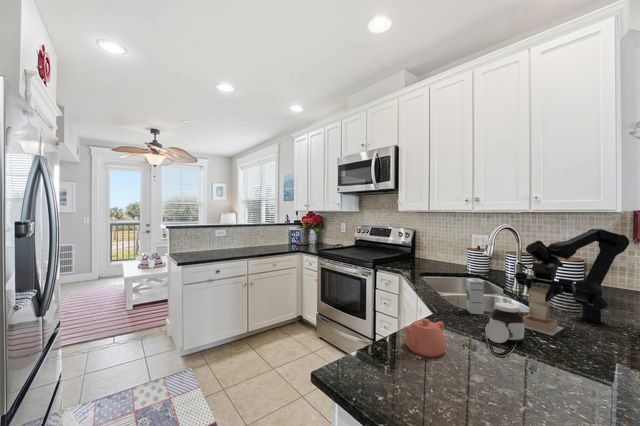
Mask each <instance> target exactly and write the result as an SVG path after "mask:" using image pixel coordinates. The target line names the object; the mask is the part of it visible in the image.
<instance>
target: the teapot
mask: <svg viewBox="0 0 640 426" xmlns="http://www.w3.org/2000/svg"><path fill="white" fill-rule="evenodd" d="M444 327H445V324H444V322H443V321H440V320H439V321H437V322H432V321H430V319H428V318H422V319H419V320H415V321H412V323H411V324H410V325H409V326H403V328H404V329H405V339H404V340H405V344H406V346H407V347H408V349H409V350H410V351H411V352H413V353H414V354H416V355H419V356H422V357H425V358H427V357H428V358H437V357H440V356H442V355H443V354H444V353H446V351H447V349H448V348H447V341H446V337H445V335H444V333H443V330H444Z"/></svg>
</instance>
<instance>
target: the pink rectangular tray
mask: <svg viewBox="0 0 640 426" xmlns="http://www.w3.org/2000/svg"><path fill="white" fill-rule="evenodd" d="M522 318H523V320H524V329H527V330H532V331H536V332H537V333H538V332H539V333H542V334H545V335H548V336H552V337H553V336H554V335H556V334H558V333H560V331H562V330H564V327H563V326H559V325H558V320H556V319H552V318H548V319H546V320H542V319H538V318H534V317H530V316H529V314H526V315H524V316H522Z"/></svg>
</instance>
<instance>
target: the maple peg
mask: <svg viewBox="0 0 640 426" xmlns="http://www.w3.org/2000/svg"><path fill="white" fill-rule="evenodd" d="M549 289H550V288H544V287H537V286H534V287H532V288H529V294H528V315H529V316H530V317H534V318H538V319H542V320H546V319H550V300H549V301H548V302H546V301H545V299H546V296H547V293H548V291H549Z"/></svg>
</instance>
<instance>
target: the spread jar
mask: <svg viewBox="0 0 640 426" xmlns="http://www.w3.org/2000/svg"><path fill="white" fill-rule="evenodd" d="M522 317H523V316H522V315H521V313H520V312H519V306H518V305H517V304H516V305H515V304H513V303H509V302H495V308H494V309H493V310H492V311H490V314H489V322H488V323H487V324H486V325H485V328H484V329H485V335H486V337H487V338H488V339H489V340H490V341H492V342H493V343H496V344H497V343H498V344H503V343H505V342H506V343H514V344H515V343H518V342H520V341H522V340H523V339H524V337H525V328H524V320H523V318H522Z"/></svg>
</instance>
